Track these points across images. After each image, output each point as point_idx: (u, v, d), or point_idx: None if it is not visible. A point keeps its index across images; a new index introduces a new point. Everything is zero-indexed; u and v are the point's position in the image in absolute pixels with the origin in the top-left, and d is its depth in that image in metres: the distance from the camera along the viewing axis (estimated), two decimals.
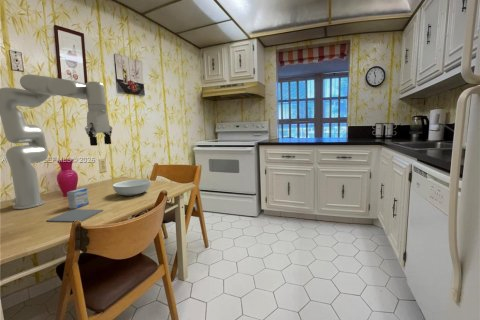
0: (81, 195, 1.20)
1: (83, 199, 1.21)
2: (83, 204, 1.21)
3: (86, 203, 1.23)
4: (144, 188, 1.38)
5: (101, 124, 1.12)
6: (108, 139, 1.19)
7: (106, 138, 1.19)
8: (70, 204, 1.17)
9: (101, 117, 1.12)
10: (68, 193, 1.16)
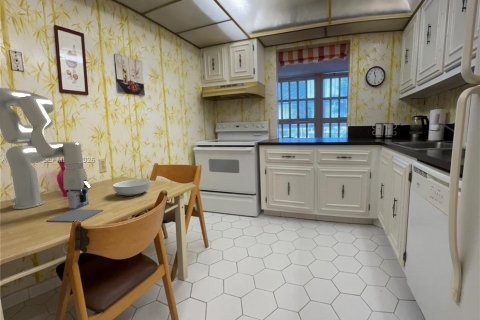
0: None
1: None
2: (83, 204, 1.21)
3: (86, 203, 1.23)
4: (144, 188, 1.38)
5: None
6: None
7: None
8: (70, 204, 1.17)
9: None
10: (68, 193, 1.16)
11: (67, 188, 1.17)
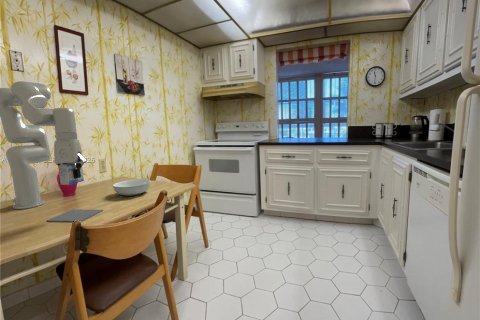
0: None
1: None
2: (77, 180, 1.05)
3: (81, 180, 1.07)
4: (144, 188, 1.38)
5: None
6: None
7: None
8: (62, 180, 1.02)
9: None
10: (60, 167, 1.01)
11: (58, 161, 1.02)
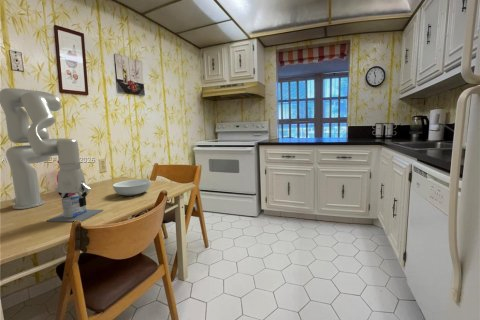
0: (78, 202, 1.06)
1: None
2: (80, 212, 1.07)
3: (83, 211, 1.09)
4: (144, 188, 1.38)
5: None
6: None
7: None
8: (65, 213, 1.03)
9: None
10: (63, 200, 1.02)
11: (62, 191, 1.03)
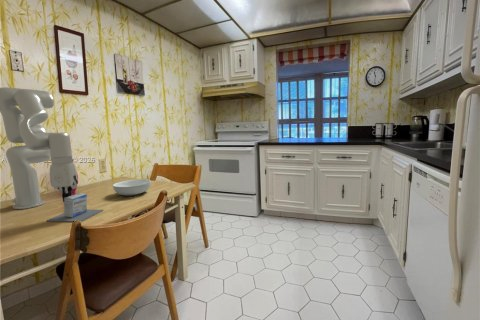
0: (80, 202, 1.06)
1: (81, 206, 1.07)
2: (80, 212, 1.07)
3: (84, 211, 1.09)
4: (144, 188, 1.38)
5: None
6: (68, 195, 1.07)
7: None
8: (66, 212, 1.03)
9: None
10: (65, 199, 1.02)
11: (54, 185, 1.03)
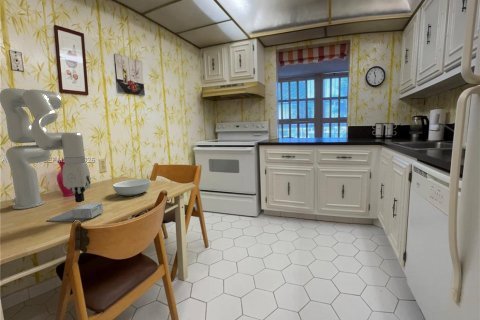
0: None
1: None
2: None
3: None
4: (144, 188, 1.38)
5: None
6: None
7: None
8: (76, 211, 1.01)
9: None
10: (89, 211, 1.01)
11: (67, 185, 1.02)
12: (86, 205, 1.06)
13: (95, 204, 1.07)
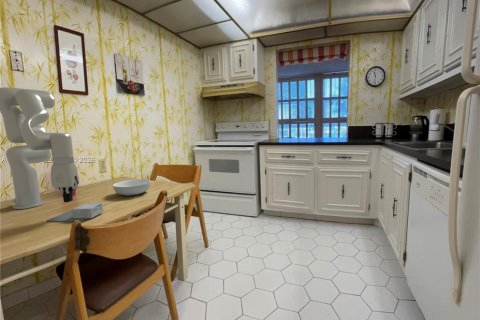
0: None
1: None
2: None
3: None
4: (144, 188, 1.38)
5: None
6: None
7: None
8: (76, 211, 1.01)
9: None
10: (89, 211, 1.01)
11: (55, 185, 1.03)
12: (86, 205, 1.06)
13: (95, 204, 1.07)
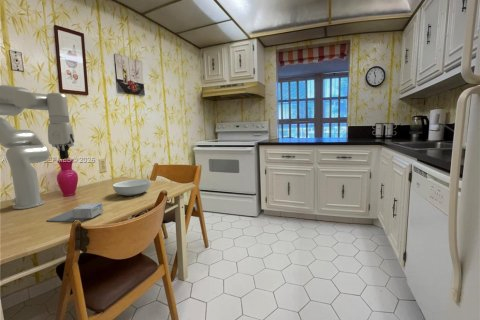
0: None
1: None
2: None
3: None
4: (144, 188, 1.38)
5: None
6: None
7: None
8: (76, 211, 1.01)
9: None
10: (89, 211, 1.01)
11: (52, 142, 1.10)
12: (86, 205, 1.06)
13: (95, 204, 1.07)
